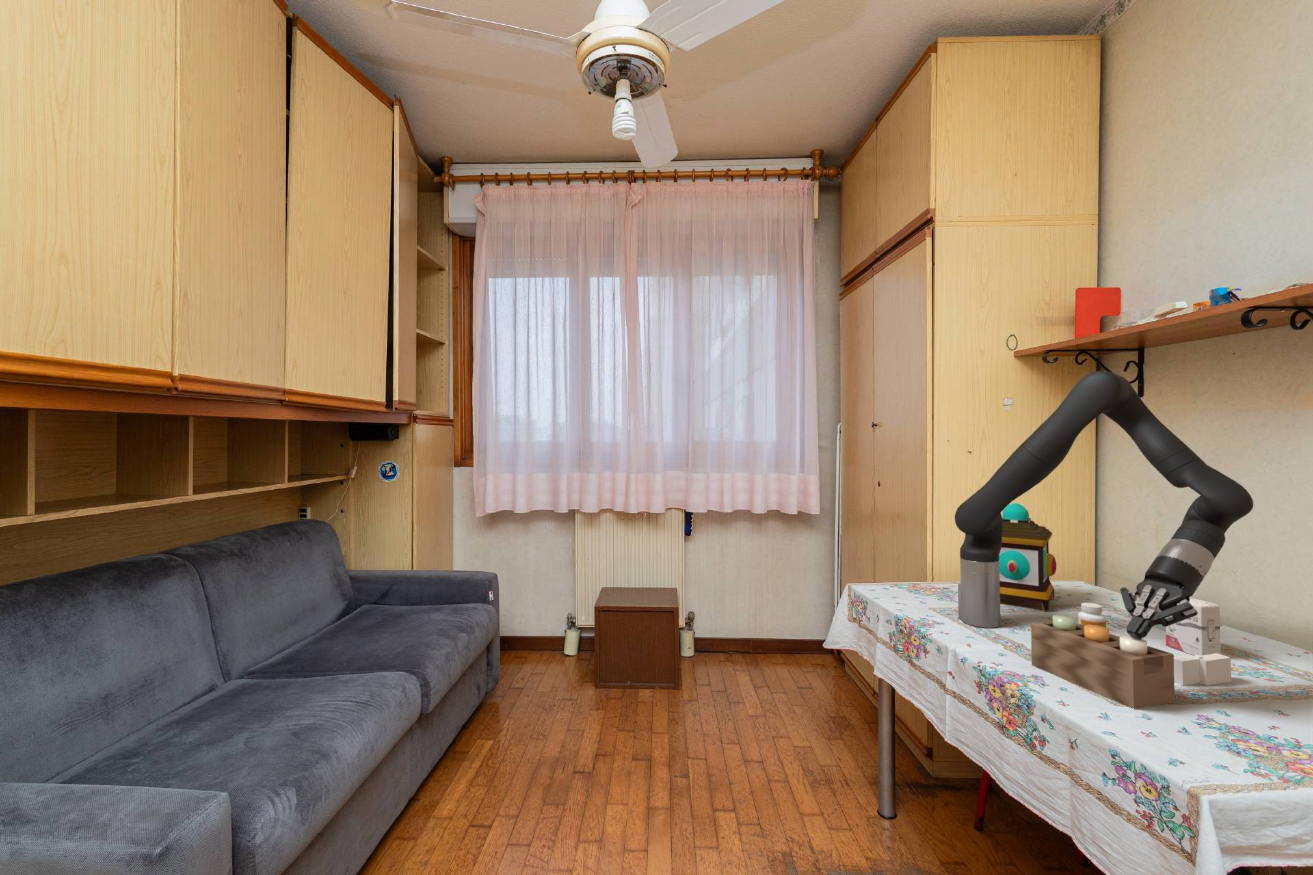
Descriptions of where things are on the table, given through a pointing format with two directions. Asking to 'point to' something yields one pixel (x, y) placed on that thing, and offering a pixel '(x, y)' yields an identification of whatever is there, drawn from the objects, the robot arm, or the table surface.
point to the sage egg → (1064, 623)
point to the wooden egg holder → (1104, 666)
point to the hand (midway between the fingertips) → (1133, 635)
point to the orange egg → (1096, 633)
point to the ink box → (1197, 630)
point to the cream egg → (1133, 645)
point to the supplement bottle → (1091, 615)
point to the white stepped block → (1202, 669)
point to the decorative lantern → (1025, 558)
